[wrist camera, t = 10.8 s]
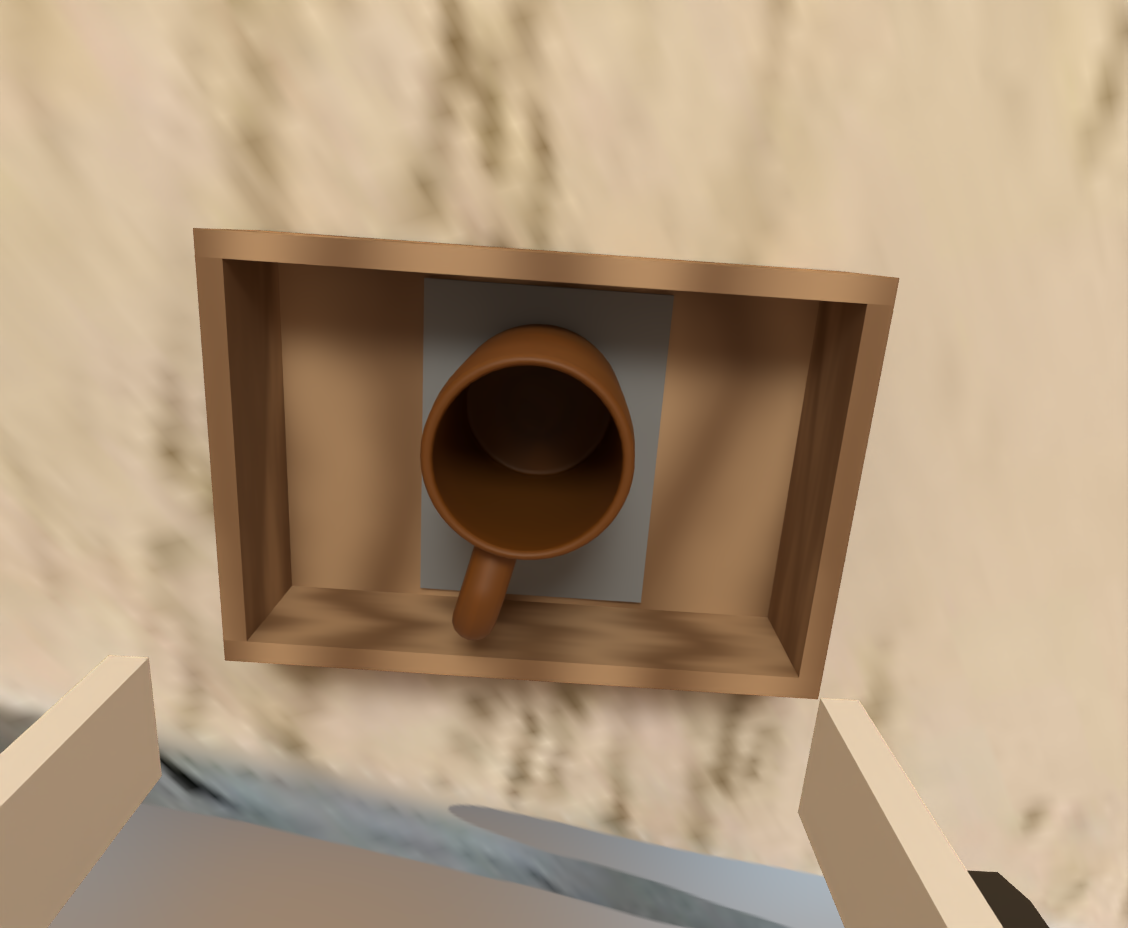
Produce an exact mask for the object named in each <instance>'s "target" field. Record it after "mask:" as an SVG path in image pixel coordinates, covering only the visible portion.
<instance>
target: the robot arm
mask: <svg viewBox="0 0 1128 928" xmlns="http://www.w3.org/2000/svg"><path fill="white" fill-rule="evenodd" d="M161 776H162V774H161V765H160V756H159V747H158V738H157V729H156V720H155V710H154V701H153V692H152V683H151V674H150V665H149V657H133V656H116V655H108V656H107V657H106V658H105V659H104V660H103V661H102V662H101V663H100V664H98V665H97V666H96V667H95V668H94V669H93V670H92V671H91V672H90V673H89V674H88V675H86V676H85V677H84V678H83V679H82V680H81V681H80V682H79V683H78V684H77V685H75V686H74V687H73V688H72V689H71V690H70V691H69V692H68V693H67V694H66V695H65V696H63V697H62V698H61V699H60V700H59V701H58V702H57V703H56V704H55V705H54V706H52V707H51V708H50V709H49V710H48V711H47V712H46V713H45V714H44V715H43V716H42V717H40V718H39V719H38V720H37V721H36V722H35V723H34V724H33V725H32V726H31V727H29V728H28V729H27V730H26V731H25V732H24V733H23V734H22V735H21V736H20V737H19V738H17V739H16V740H15V741H14V742H13V743H12V744H11V745H10V746H9V747H8V748H6V749H5V750H4V751H3V752H2V753H1V754H0V928H48V926H49V925H50V924H51V922H52V921H53V920H54V918H55V917H56V916H57V914H58V913H59V912H60V910H61V909H62V908H63V906H64V905H65V904H66V902H67V901H68V900H69V898H70V897H71V896H72V894H73V893H74V892H75V890H76V889H77V888H78V886H79V885H80V884H81V882H82V881H83V880H84V878H85V877H86V876H87V874H88V873H89V872H90V870H91V869H92V868H93V866H94V865H95V864H96V862H97V861H98V860H99V858H100V857H101V856H102V854H103V853H104V852H105V850H106V849H107V848H108V846H109V845H110V844H111V842H112V841H113V840H114V838H115V837H116V836H117V834H118V833H119V832H120V830H121V829H122V828H123V826H124V825H125V824H126V823H127V821H128V820H129V818H130V817H131V816H132V814H133V813H134V812H135V810H136V809H137V808H138V806H139V805H140V804H141V803H142V801H143V800H144V799H145V797H146V796H147V795H148V793H149V792H150V791H151V789H152V788H153V787H154V785H155V784H156V783H157V781H158V780H159V779H160V777H161ZM798 813H799V816H800V818H801V821H802V823H803V826H804V828H805V831H806V833H807V836H808V838H809V841H810V843H811V846H812V848H813V851H814V853H815V856H816V858H817V860H818V863H819V865H820V868H821V870H822V873H823V875H824V878H825V880H826V883H827V885H828V888H829V890H830V893H831V895H832V898H833V900H834V902H835V905H836V907H837V910H838V912H839V915H840V917H841V920H842V922H843V925H844V927H845V928H1049V927H1048V925H1047V924H1046V923H1045V921H1044V920H1043V918H1042V917H1041V915H1040V914H1039V913H1038V911H1037V910H1036V908H1035V907H1034V905H1033V904H1032V903H1031V901H1030V900H1029V899H1027V898H1026V897H1025V896H1024V895H1023V894H1022V893H1021V892H1020V891H1018V890H1017V889H1016V888H1015V887H1014V886H1013V885H1012V884H1010V883H1009V882H1008V881H1007V880H1006V879H1005V878H1004V877H1003V876H1001V875H1000V874H999V873H998V872H983V871H967V870H966V868H965V867H964V865H963V864H962V862H961V860H960V859H959V857H958V856H957V854H956V852H955V851H954V849H953V848H952V846H951V845H950V843H949V841H948V840H947V838H946V837H945V835H944V834H943V832H942V830H941V829H940V827H939V826H938V824H937V823H936V821H935V819H934V818H933V816H932V815H931V813H930V811H929V810H928V808H927V807H926V805H925V804H924V802H923V800H922V799H921V797H920V796H919V794H918V793H917V791H916V789H915V788H914V786H913V785H912V783H911V782H910V780H909V778H908V777H907V775H906V774H905V772H904V770H903V769H902V767H901V766H900V764H899V763H898V761H897V759H896V758H895V756H894V755H893V753H892V752H891V750H890V748H889V747H888V745H887V744H886V742H885V741H884V739H883V737H882V736H881V734H880V733H879V731H878V729H877V728H876V726H875V725H874V723H873V722H872V720H871V718H870V717H869V715H868V714H867V712H866V711H865V709H864V707H863V706H862V704H861V703H860V701H859V700H847V699H830V698H820V703H819V708H818V713H817V718H816V723H815V728H814V733H813V738H812V743H811V749H810V754H809V759H808V764H807V769H806V774H805V779H804V784H803V789H802V794H801V800H800V805H799V810H798Z"/></svg>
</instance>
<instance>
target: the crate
mask: <svg viewBox="0 0 1128 928" xmlns="http://www.w3.org/2000/svg"><path fill="white" fill-rule="evenodd" d="M193 235H194V248H195V262H196V275H197V289H198V302H199V316H200V329H201V343H202V356H203V370H204V383H205V397H206V410H207V424H208V437H209V451H210V464H211V478H212V491H213V505H214V518H215V532H216V546H217V559H218V573H219V586H220V600H221V613H222V627H223V640H224V654H225V660H227V661H242V662H258V663H273V664H288V665H303V666H319V667H334V668H349V669H364V670H380V671H395V672H410V673H425V674H441V675H456V676H471V677H487V678H502V679H517V680H532V681H548V682H563V683H578V684H593V685H609V686H624V687H639V688H654V689H670V690H685V691H700V692H715V693H731V694H746V695H761V696H776V697H792V698H807V699H818V696H819V691H820V686H821V681H822V676H823V670H824V665H825V660H826V655H827V650H828V645H829V639H830V634H831V629H832V624H833V619H834V614H835V608H836V603H837V598H838V593H839V588H840V583H841V577H842V572H843V567H844V562H845V557H846V552H847V546H848V541H849V536H850V531H851V526H852V521H853V515H854V510H855V505H856V500H857V495H858V490H859V484H860V479H861V474H862V469H863V464H864V459H865V453H866V448H867V443H868V438H869V433H870V428H871V422H872V417H873V412H874V407H875V402H876V396H877V391H878V386H879V381H880V376H881V371H882V365H883V360H884V355H885V350H886V345H887V340H888V334H889V329H890V324H891V319H892V314H893V309H894V303H895V298H896V293H897V288H898V283H899V278H894V277H885V276H877V275H868V274H859V273H850V272H841V271H827V270H813V269H799V268H785V267H770V266H756V265H742V264H728V263H714V262H700V261H686V260H671V259H657V258H643V257H629V256H615V255H601V254H586V253H572V252H558V251H544V250H530V249H516V248H502V247H487V246H473V245H459V244H445V243H431V242H417V241H403V240H388V239H374V238H360V237H346V236H332V235H318V234H303V233H289V232H275V231H261V230H232V229H202V228H193ZM424 278H437V279H451V280H466V281H480V282H494V283H508V284H523V285H537V286H551V287H565V288H580V289H594V290H608V291H622V292H636V293H651V294H665V295H674V301H673V311H672V320H671V329H670V338H669V348H668V357H667V366H666V375H665V384H664V394H663V403H662V412H661V421H660V431H659V440H658V449H657V458H656V467H655V477H654V486H653V495H652V504H651V514H650V523H649V532H648V541H647V550H646V560H645V569H644V578H643V587H642V597H641V603H637V602H622V601H607V600H592V599H577V598H562V597H547V596H532V595H517V594H506V595H505V598H504V602H503V605H502V607H501V610H500V613H499V616H498V619H497V621H496V624H495V626H494V628H493V629H492V631H491V633H490V634H489V635H487V636H486V637H485V638H483V639H479V640H467V639H465V638H463V637H461V636H460V635H459V634H458V633H457V632H456V631H455V630H454V627H453V623H452V616H453V612H454V609H455V605H456V602H457V599H458V596H459V593H460V591H457V590H442V589H427V588H420V573H421V494H422V471H421V462H420V448H421V439H422V415H423V335H424Z"/></svg>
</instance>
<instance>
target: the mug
mask: <svg viewBox="0 0 1128 928" xmlns="http://www.w3.org/2000/svg"><path fill="white" fill-rule="evenodd" d="M420 462H421V471H422V476H423V481H424V484H425V487H426V490H427V493H428V495H429V497H430V499H431V501H432V503H433V505H434V507H435V509H436V510H437V512H438V513H439V514H440V516H441V517H442V519H443V520H444V521H445V522H446V523H447V524H448V525H449V527H450V528H451V529H453V530H454V531H455V532H456V533H457V534H458V535H460V536H461V537H462V538H464V539H465V540H466V541H468V542H469V543H471V544H472V545H474V549H473V552H472V555H471V558H470V561H469V564H468V568H467V571H466V574H465V577H464V580H463V583H462V586H461V590H460V593H459V596H458V599H457V602H456V605H455V609H454V612H453V616H452V623H453V627H454V630H455V631H456V632H457V633H458V634H459V635H460V636H461V637H463V638H465V639H467V640H479V639H483V638H485V637H486V636H487V635H489V634H490V633H491V631H492V629H493V628H494V626H495V624H496V621H497V619H498V616H499V613H500V610H501V607H502V605H503V602H504V598H505V595H506V592H507V589H508V586H509V583H510V579H511V576H512V573H513V570H514V567H515V563H516V560H517V559H518V560H540V559H548V558H553V557H557V556H561V555H564V554H567V553H570V552H572V551H575V550H577V549H579V548H580V547H582V546H584V545H586V544H588V543H589V542H591V541H592V540H593V539H595V538H596V537H598V536H599V535H600V534H601V533H602V532H603V531H604V530H605V529H606V528H607V527H608V526H609V525H610V524H611V523H612V521H613V520H614V519H615V518H616V516H617V515H618V513H619V512H620V510H621V508H622V507H623V505H624V503H625V501H626V499H627V496H628V494H629V491H630V488H631V484H632V481H633V475H634V469H635V438H634V429H633V424H632V420H631V416H630V413H629V410H628V407H627V404H626V400H625V397H624V395H623V392H622V390H621V387H620V384H619V382H618V379H617V377H616V375H615V372H614V371H613V369H612V367H611V365H610V363H609V362H608V361H607V359H606V358H605V357H604V355H603V354H602V353H601V352H600V351H599V350H598V349H597V348H596V347H595V346H594V345H593V344H592V343H590V342H589V341H588V340H586V339H585V338H584V337H582V336H580V335H578V334H577V333H575V332H573V331H570V330H568V329H565V328H562V327H558V326H554V325H547V324H528V325H520V326H517V327H513V328H510V329H507V330H505V331H503V332H500V333H498V334H496V335H495V336H493V337H491V338H490V339H488V340H487V341H486V342H484V343H483V344H482V345H481V346H479V347H478V348H477V349H476V350H475V351H474V353H473V354H471V355H470V356H469V357H468V358H467V360H466V361H465V362H464V363H463V364H462V365H461V366H460V367H459V368H458V369H457V370H456V371H455V373H454V374H453V375H452V376H451V377H450V378H449V380H448V381H447V382H446V384H445V385H444V387H443V388H442V389H441V391H440V392H439V394H438V396H437V398H436V400H435V402H434V404H433V406H432V409H431V411H430V413H429V415H428V418H427V421H426V423H425V426H424V430H423V434H422V439H421V448H420Z"/></svg>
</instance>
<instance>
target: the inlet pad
mask: <svg viewBox="0 0 1128 928" xmlns="http://www.w3.org/2000/svg"><path fill="white" fill-rule="evenodd" d="M673 301H674V295H665V294H651V293H636V292H622V291H608V290H594V289H580V288H565V287H551V286H537V285H523V284H508V283H494V282H480V281H466V280H451V279H437V278H424V335H423V415H422V434H423V430H424V426H425V423H426V421H427V418H428V415H429V413H430V411H431V409H432V406H433V404H434V402H435V400H436V398H437V396H438V394H439V392H440V391H441V389H442V388H443V387H444V385H445V384H446V382H447V381H448V380H449V378H450V377H451V376H452V375H453V374H454V373H455V371H456V370H457V369H458V368H459V367H460V366H461V365H462V364H463V363H464V362H465V361H466V360H467V358H468V357H469V356H470V355H471V354H473V353H474V351H475V350H476V349H477V348H478V347H479V346H481V345H482V344H483V343H484V342H486V341H487V340H488V339H490V338H491V337H493V336H495V335H496V334H498V333H500V332H503V331H505V330H507V329H510V328H513V327H517V326H520V325H528V324H547V325H554V326H558V327H562V328H565V329H568V330H570V331H573V332H575V333H577V334H578V335H580V336H582V337H584V338H585V339H586V340H588V341H589V342H590V343H592V344H593V345H594V346H595V347H596V348H597V349H598V350H599V351H600V352H601V353H602V354H603V355H604V357H605V358H606V359H607V361H608V362H609V363H610V365H611V367H612V369H613V371H614V372H615V375H616V377H617V379H618V382H619V384H620V387H621V390H622V392H623V395H624V397H625V400H626V404H627V407H628V410H629V413H630V416H631V420H632V424H633V429H634V438H635V469H634V475H633V481H632V484H631V488H630V491H629V494H628V496H627V499H626V501H625V503H624V505H623V507H622V508H621V510H620V512H619V513H618V515H617V516H616V518H615V519H614V520H613V521H612V523H611V524H610V525H609V526H608V527H607V528H606V529H605V530H604V531H603V532H602V533H601V534H600V535H599V536H598V537H596V538H595V539H593V540H592V541H591V542H589V543H588V544H586V545H584V546H582V547H580V548H579V549H577V550H575V551H572V552H570V553H567V554H564V555H561V556H557V557H553V558H548V559H540V560H518V559H517V560H516V563H515V567H514V570H513V573H512V576H511V579H510V583H509V586H508V589H507V592H506V594H517V595H532V596H547V597H562V598H577V599H592V600H607V601H622V602H637V603H641V597H642V587H643V578H644V569H645V560H646V550H647V541H648V532H649V523H650V514H651V504H652V495H653V486H654V477H655V467H656V458H657V449H658V440H659V431H660V421H661V412H662V403H663V394H664V384H665V375H666V366H667V357H668V348H669V338H670V329H671V320H672V311H673ZM473 549H474V545H472V544H471V543H469V542H468V541H466V540H465V539H464V538H462V537H461V536H460V535H458V534H457V533H456V532H455V531H454V530H453V529H451V528H450V527H449V525H448V524H447V523H446V522H445V521H444V520H443V519H442V517H441V516H440V514H439V513H438V512H437V510H436V509H435V507H434V505H433V503H432V501H431V499H430V497H429V495H428V493H427V490H426V487H425V484H424V481H423V476H422V494H421V573H420V588H427V589H442V590H457V591H460V590H461V586H462V583H463V580H464V577H465V574H466V571H467V568H468V564H469V561H470V558H471V555H472V552H473Z"/></svg>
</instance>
